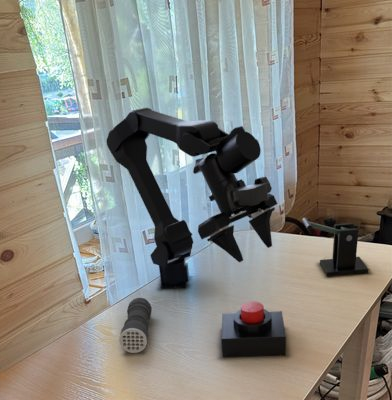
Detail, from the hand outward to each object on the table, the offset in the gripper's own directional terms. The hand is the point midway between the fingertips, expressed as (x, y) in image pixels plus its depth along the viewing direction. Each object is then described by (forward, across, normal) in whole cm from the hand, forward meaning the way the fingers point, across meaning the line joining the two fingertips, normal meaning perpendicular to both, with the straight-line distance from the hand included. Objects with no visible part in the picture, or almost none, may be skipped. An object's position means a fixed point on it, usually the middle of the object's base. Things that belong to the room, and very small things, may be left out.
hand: (256, 254), depth 105 cm
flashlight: (+4, -22, +19) cm, 30 cm away
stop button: (+11, -10, -2) cm, 15 cm away
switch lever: (+3, +27, +3) cm, 28 cm away
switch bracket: (+13, +31, +5) cm, 34 cm away
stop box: (+16, -10, +1) cm, 19 cm away
